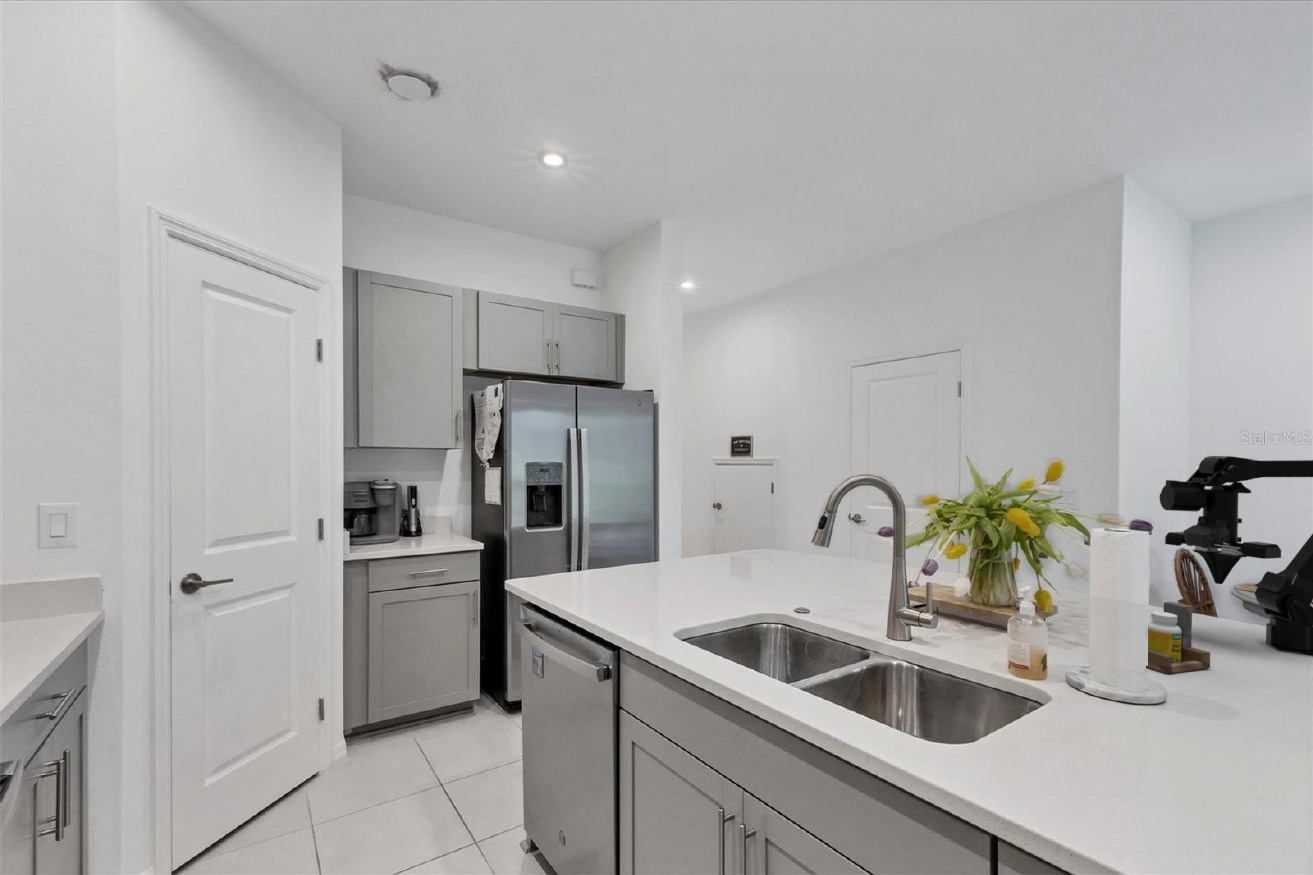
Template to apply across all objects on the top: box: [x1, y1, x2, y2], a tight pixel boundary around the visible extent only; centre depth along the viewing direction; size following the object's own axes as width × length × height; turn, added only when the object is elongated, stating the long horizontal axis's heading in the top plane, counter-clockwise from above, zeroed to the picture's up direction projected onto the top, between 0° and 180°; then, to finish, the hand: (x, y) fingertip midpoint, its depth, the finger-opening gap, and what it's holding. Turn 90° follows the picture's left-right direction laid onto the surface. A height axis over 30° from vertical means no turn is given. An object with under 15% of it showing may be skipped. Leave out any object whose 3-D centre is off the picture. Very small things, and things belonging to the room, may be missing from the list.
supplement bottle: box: [1147, 610, 1182, 663], centre depth 121 cm, size 5×5×10 cm
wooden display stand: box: [1147, 601, 1211, 674], centre depth 121 cm, size 12×10×11 cm
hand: (1218, 583), depth 135 cm, fingers closed
